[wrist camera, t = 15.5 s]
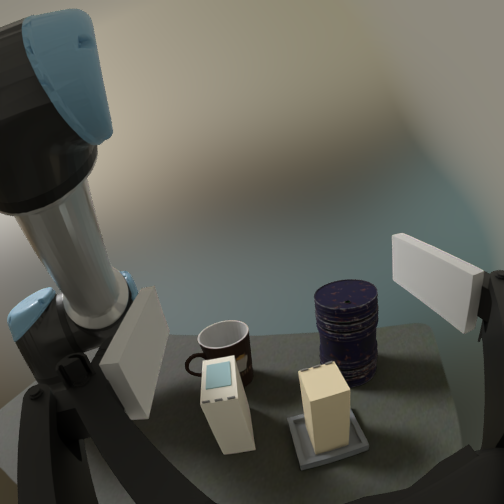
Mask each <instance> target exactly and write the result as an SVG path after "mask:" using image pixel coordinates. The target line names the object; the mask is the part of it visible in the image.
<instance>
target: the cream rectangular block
mask: <svg viewBox="0 0 504 504" xmlns="http://www.w3.org/2000/svg"><path fill="white" fill-rule="evenodd" d="M298 373H299V380H300V387H301V394H302V402H303V409H304V416H305V424H306V428H307V431H308V434H309V437H310V440H311V443H312V446H313V449H314V452H315V455H317V454H321V453H324V452H327V451H331V450H334V449H337V448H340V447H343V446H346V445H349V427H350V388H349V386H348V384H347V383H346V381H345V379H344V377H343V376H342V374H341V372H340V371H339V369H338V367H337V365H336V364H335V362H334V361H333V362H332V361H330V362H326V363H325V364H323V365H320V364H319V365H315V366H313V367H312V368H309V369H308V368H304V369H301V371H298Z"/></svg>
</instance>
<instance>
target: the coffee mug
mask: <svg viewBox="0 0 504 504" xmlns="http://www.w3.org/2000/svg"><path fill="white" fill-rule="evenodd" d="M198 342H199V344H200V347H201V349H202V351H203V353H196V354H193V355H191V356H190V357H189V358H188V359H187V360H186V362H185V369H186V371H187V372H188V373H190V374H191V375H194V376H198V377H202V373H195V372H192V371H190V370H189V363H190V362H191V360H192V359H194V358H196V357H202V358H204V359H205V360H211V359H217V358H223V357H228V356H233V355H234V356H235V360H236V363H237V367H238V370H239V374H240V377H241V381H242V384H243V387H245V386H247V385H248V384H249V383H250V382H251V381H252V379H253V368H252V358H251V348H250V338H249V330H248V326H247V325H246V324H245V323H243V322H241V321H235V320H228V321H222V322H218V323H215V324H212V325H210V326H208V327H207V328H205V329H204V330H203V331H201V333H200V334H199V336H198Z"/></svg>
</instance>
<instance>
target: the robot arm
mask: <svg viewBox="0 0 504 504" xmlns="http://www.w3.org/2000/svg"><path fill="white" fill-rule="evenodd" d="M112 134H113V129H112V122H111V117H110V112H109V107H108V102H107V97H106V92H105V87H104V83H103V78H102V72H101V67H100V62H99V56H98V51H97V45H96V39H95V34H94V28H93V24H92V20H91V18H90V17H89V15H88V14H87V13H86V12H84V11H82V10H79V9H66V10H60V11H55V12H50V13H45V14H40V15H35V16H34V15H31V16H29V17H27V18H24V19H21V20H18V21H16V22H13V23H11V24H8V25H6V26H3V27H1V28H0V213H2V214H5V215H10V216H14V217H15V218H16V220H17V222H18V224H19V226H20V227H21V229H22V231H23V233H24V234H25V236H26V238H27V240H28V241H29V243H30V245H31V246H32V248H33V250H34V251H35V253H36V254H37V256H38V258H39V259H40V261H41V262H42V264H43V265H44V267H45V268H46V270H47V271H48V273H49V274H50V276H51V277H52V279H53V280H54V282H55V283H56V285H57V286H58V287H59V289H60V290H61V292H62V293H59V294H56V293H55V291H54V290H53V288H51V287H48V288H44V289H41V290H39V291H37V292H36V293H33V294H32V295H30V296H29V297H27V298H26V299H24V300H23V301H22V302H20V303H19V304H18V305H16V306H15V307H14V308H13V309H12V310H11V312H10V313H9V315H8V319H7V323H8V326H9V329H10V331H11V334H12V336H13V340H14V342H15V343H16V345H17V347H18V349H19V350H20V352H21V354H22V356H23V358H24V360H25V362H26V363H27V365H28V367H29V369H30V370H31V372H32V374H33V376H34V377H35V379H36V381H37V382H38V384H37V385H35V386H32V387H31V388H29V389H28V391H27V392H26V393H25V395H24V397H23V403H22V410H21V419H20V429H19V442H18V466H17V482H18V504H98V500H97V497H96V493H95V490H94V486H93V482H92V478H91V474H90V469H89V465H88V460H87V455H86V450H85V445H84V439H85V438H89V437H91V438H92V439H93V441H94V443H95V444H96V446H97V448H98V449H99V451H100V453H101V454H102V456H103V458H104V459H105V461H106V462H107V464H108V465H109V467H110V468H111V470H112V471H113V473H114V474H115V476H116V477H117V479H118V480H119V481H120V483H121V484H122V486H123V487H124V488H125V490H126V491H127V493H128V494H129V495H130V496H131V498H132V499H133V500H134V502H135V503H136V504H217V503H215V502H214V501H212V500H211V499H210V498H209V497H207V496H206V495H205V494H204V493H203V492H202V491H200V490H199V489H198V488H197V487H196V486H195V485H194V484H192V483H191V482H190V481H189V480H188V479H187V478H186V477H185V476H184V475H183V474H182V473H181V472H180V471H178V470H177V469H176V468H175V467H174V466H173V465H172V464H171V463H170V462H169V461H168V460H167V459H166V458H165V457H164V456H163V455H162V454H161V453H160V451H159V450H158V449H157V448H156V447H155V446H154V445H153V444H152V443H151V442H150V441H149V440H148V439H147V437H146V436H145V435H144V434H143V433H142V432H141V431H140V430H139V428H138V427H137V426H136V425H135V424H134V423H133V421H132V420H138V419H149V415H150V410H151V406H152V401H153V397H154V392H155V388H156V384H157V379H158V375H159V371H160V367H161V363H162V359H163V355H164V351H165V347H166V343H167V339H168V335H169V328H168V325H167V322H166V319H165V316H164V314H163V311H162V308H161V305H160V301H159V298H158V295H157V292H156V289H155V286H151V287H146V288H141V289H140V291H139V293H138V290H137V288H136V285H135V283H134V280H133V278H132V277H131V275H130V274H129V273H128V272H127V271H122V272H121V271H118V270H117V269H115V268H114V267H112V266H111V264H110V261H109V258H108V254H107V251H106V248H105V245H104V242H103V238H102V235H101V231H100V228H99V224H98V221H97V217H96V214H95V209H94V205H93V201H92V197H91V193H90V189H89V185H88V180H87V177H88V176H89V175H90V173H91V171H92V170H93V168H94V165H95V163H96V160H97V155H98V151H97V145H100V144H101V143H103V141H104V140H107V139H109V138H110V137H111V136H112ZM392 251H393V280H394V281H395V282H396V283H398V284H399V285H400V286H402V287H403V288H405V289H406V290H407V291H409V292H410V293H411V294H413V295H414V296H415V297H417V298H418V299H419V300H421V301H422V302H423V303H425V304H426V305H427V306H429V307H430V308H431V309H432V310H434V311H435V312H436V313H438V314H439V315H440V316H442V317H443V318H444V319H445V320H447V321H448V322H449V323H451V324H452V325H453V326H454V327H456V328H457V329H458V330H459V331H461V332H462V333H463V334H465V333H467V332H469V331H471V330H473V329H474V328H475V326H476V321H477V316H479V317H480V318H481V319H483V320H482V325H481V330H480V334H479V338H478V342H480V339H481V338H482V341H483V354H484V374H485V409H484V428H483V441H482V447H481V450H477V451H474V450H473V449H472V447H471V446H470V445H467V446H465V447H464V448H462V449H461V450H459V451H458V452H456V453H454V454H453V455H451V456H449V457H448V458H446V459H444V460H442V461H441V462H439V463H438V464H437V465H436V466H435V467H434V468H433V469H431V470H430V471H429V472H428V473H427V474H426V475H424V476H423V477H422V478H421V479H420V480H418V481H417V482H416V483H415V484H413V485H412V486H411V487H409V488H407V489H403V490H399V491H394V492H390V493H384V494H379V495H373V496H367V497H363V498H360V499H357V500H354V501H351V502H348V503H345V504H504V271H503V270H499V271H498V270H497V271H493V272H491V273H490V274H489V273H487V272H485V271H483V270H482V269H479V268H478V267H476V266H474V265H472V264H469V263H467V262H465V261H463V260H461V259H459V258H457V257H455V256H453V255H451V254H449V253H447V252H444V251H442V250H440V249H438V248H436V247H433V246H431V245H429V244H427V243H425V242H422V241H420V240H418V239H415V238H413V237H411V236H409V235H406V234H404V233H400V234H395V235H392ZM98 347H100V348H99V349H98V351H97V353H96V355H95V357H94V358H93V360H92V362H91V363H90V361H89V359H88V357H87V355H85V354H84V352H86V351H89V350H92V349H95V348H98ZM124 410H125V411H126V413H127V414H126V413H125V412H124ZM128 416H129V417H128Z"/></svg>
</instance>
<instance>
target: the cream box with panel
mask: <svg viewBox="0 0 504 504" xmlns="http://www.w3.org/2000/svg"><path fill="white" fill-rule="evenodd" d="M200 405H201V408H202V410H203V412H204V414H205V417H206V419H207V421H208V423H209V425H210V428H211V430H212V432H213V434H214V436H215V438H216V440H217V442H218V444H219V446H220V448H221V450H222V452H223V454H224V455H226V454H233V453H240V452H246V451H252V450H256V449H255V442H254V435H253V428H252V421H251V414H250V407H249V404H248V401H247V397H246V394H245V391H244V387H243V384H242V381H241V377H240V374H239V370H238V367H237V363H236V360H235V356H234V355H233V356H228V357H223V358H217V359H211V360H206V361H203V366H202V381H201V397H200Z"/></svg>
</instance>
